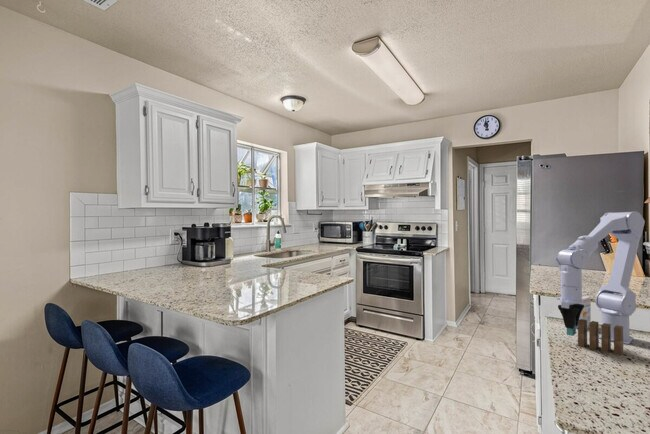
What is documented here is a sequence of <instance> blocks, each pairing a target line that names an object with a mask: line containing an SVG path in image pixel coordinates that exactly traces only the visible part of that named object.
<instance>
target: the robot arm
mask: <svg viewBox="0 0 650 434" xmlns="http://www.w3.org/2000/svg"><path fill="white" fill-rule="evenodd" d="M599 219H600V222H599V223H598V224H597V226H595V227H594V229H593V230H592V231H590V233H589V234H588V235H582V236H579V237H577V240H575V242H574V243H572V244H571V245H569V246H568V248H567V249H562V250H560V251H559V252H558V253H557V256H556V257H555V261H556V263H557V265H558V270H559V271H560V296H557V297H556V300H557V301H560V304H559V305H557V307H558V310H559V311H560V314H561V317H562V320H563V323H564V327H565V328H566V329H567V328H571V329H573V328H574V325H575V319H576V326H577V325H578V321H579V317H580V314H581V312H582V310H583V308H584V305H583V304H579V303H583V300H582V295H583V289H582V288H583V287H582V286H583V285H582V283H583V281H582V280H583V278H582V276H583V274H582V271H583V270H582V269H583V267H585V266H586V264H587V262H588V259H589V256H590V255H591V254H593V252H595V251H596V250H597V249H598V248H599V242H601V241H602V240H603V239H604V238H605V237H607V236H608V235H611V236H612V237H614V238H616V239H617V240H618V242H617V245H616V250H615V253H614V254H615V255H614V258H613V259H614V260H613V263H612V267H611V271H610V275H609V280H608V283H606V284H604V285H602V286H600V289H599V291H598V292H597V294H596V295H595V300H594V301H595V305H596V307H598V309H599V311H600V312H601V325H602V324H603V323H607V324H611V342H614V327H615V326H616V325H618V326H623V344H625V345H629V344H631V342H632V341H633V339H634V336H630V316H632V314H634V313H635V312H636V309H637V299H636V298H637V294H636V293H635V292H634V291H633V290H632V289H631V288H630V284H631V278H632V275H633V269H634V266H635V261H636V257H637V253H638V249H639V245H640V244H639V243H640V240H641V238H642V235H643V230H644V226H645V223H646V221H645V219H644V217H643V215H642V214H641V213H640V212H638V211H624V212H622V211H621V212H611V211H610V212H609V211H608V212H606V213H604V214H603V215H602V216H601V217H600V218H599ZM599 340H601V334H600V335H599Z"/></svg>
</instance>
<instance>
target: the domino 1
mask: <svg viewBox="0 0 650 434" xmlns="http://www.w3.org/2000/svg"><path fill="white" fill-rule="evenodd" d="M576 333H577V329H576V319H575V325H574V328H573V329H571V328H566V335H567V336H570V337H571V336H572V337H573V336H575V335H576Z"/></svg>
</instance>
